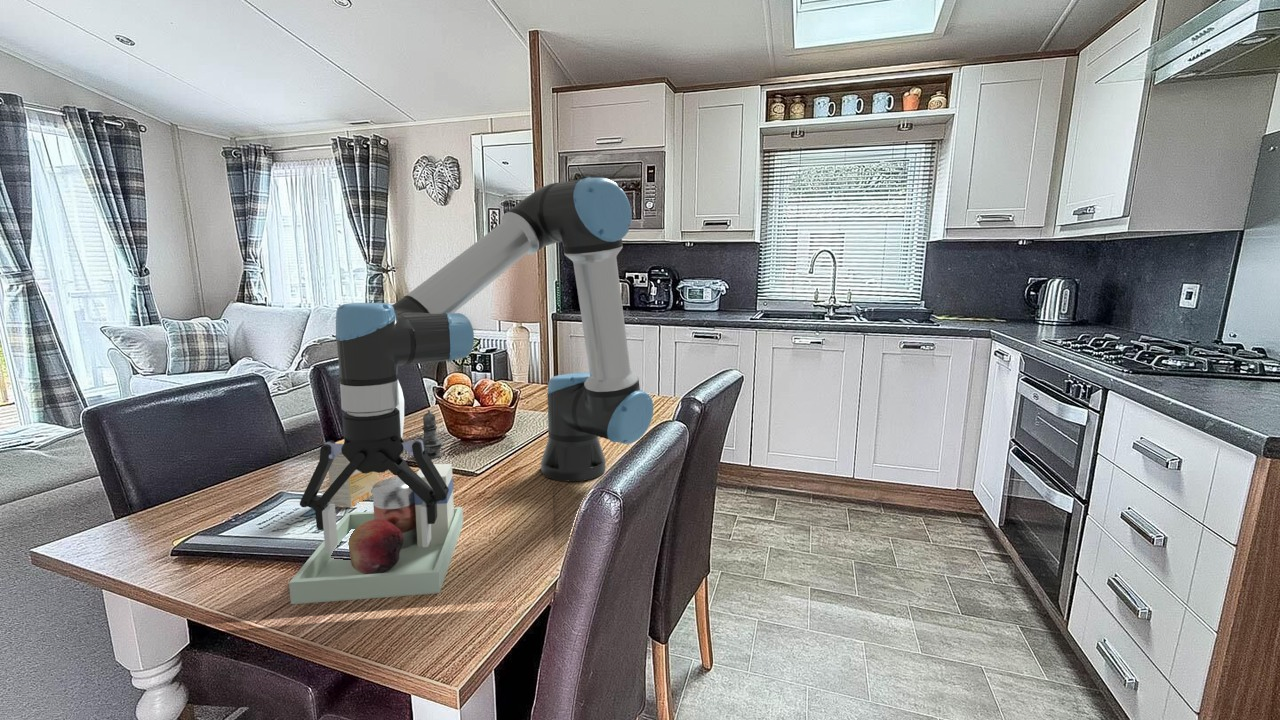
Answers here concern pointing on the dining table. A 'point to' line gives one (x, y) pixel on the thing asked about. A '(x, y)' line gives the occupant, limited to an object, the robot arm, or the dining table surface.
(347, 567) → the tote
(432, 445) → the chess piece
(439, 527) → the box
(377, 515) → the tin
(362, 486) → the supplement box
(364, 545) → the fruit
